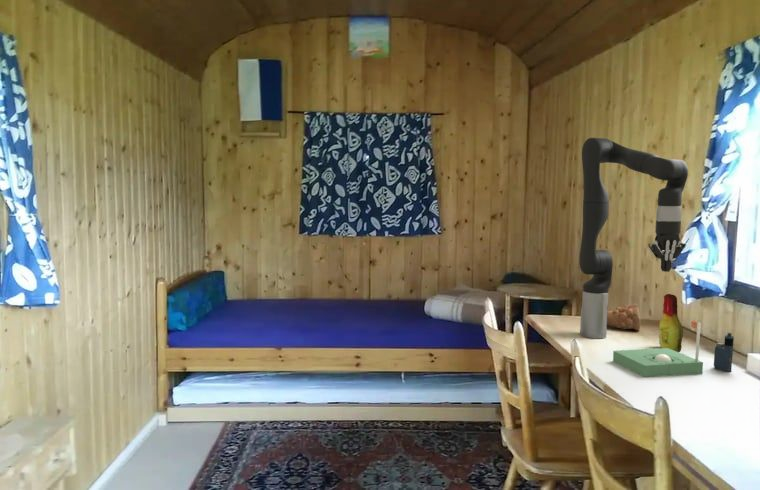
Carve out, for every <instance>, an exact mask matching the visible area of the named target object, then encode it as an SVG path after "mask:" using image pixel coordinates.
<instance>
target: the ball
mask: <svg viewBox="0 0 760 490" xmlns="http://www.w3.org/2000/svg"><path fill="white" fill-rule="evenodd" d="M654 360H656V361H661V362H672V361H671V359H670V357H669V356H667V355H665V354H659V355H657V356H656V357H655V359H654Z"/></svg>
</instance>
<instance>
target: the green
mask: <svg viewBox="0 0 760 490" xmlns="http://www.w3.org/2000/svg"><path fill="white" fill-rule="evenodd" d="M690 327H691V328H693V329H696V340H695V341H696V342H695V354H694V355H695V358H693V357H691V356H689V355H686V354H683V353H681V352H676V351H674V350H671V349H669V348H661V347H660V348H659V347H658V348H642V349H641V348H640V349H625V350H624V349H623V350H613V355H612V362H614V363H616V364H618V365H620V366H621V367H624V368H625V369H628V370H630V371H631V372H634V373H636V374H638V375H640V376H642V377H643V378H645V377H646V378H648V377H650V378H651V377H662V376H663V377H665V376H679V375H680V376H681V375H695V374H696V375H697V374H703V369H704V368H703V366H704V365H703V364H704V362H703V361H701V360H699V351H700V338H701V337H700V336H701V322H697V321H695V320H691V325H690ZM659 354H665V355H667V356H669V357H670V359H671V361H672V362H661V361H656V360H654V359H655V357H656V356H657V355H659Z"/></svg>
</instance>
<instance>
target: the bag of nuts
mask: <svg viewBox="0 0 760 490" xmlns="http://www.w3.org/2000/svg"><path fill="white" fill-rule="evenodd" d="M640 317H641V316H640V309H639V306H638V304H637V303H634V304H631V305H626V304H625V305H623V306H622V307H621V306H617V307H616V308H615V309H614V310H608V313H607V327H608V326H611V327H615V328H617V329H621V330H623V329H627V330H629V329H631V330H635V331H640V329H641V326H642V325H641V322H642V321H641V318H640Z"/></svg>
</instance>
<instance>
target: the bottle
mask: <svg viewBox="0 0 760 490" xmlns="http://www.w3.org/2000/svg"><path fill="white" fill-rule="evenodd" d="M662 307H663V309H662V318H661V319H660V320H659V325H658V326H659V330H658V331H659V333H658V334H659V335H658V338H659V339H658V340H659V341H658V342H659V343H658V344H659V347H660V348H669V349H671V350H674V351H676V352H679V353H681V350H682V342H683V335H684V329H683V326H682V323H681V321H680V319H679V316H678V298H677V296H676V294H672V293H667V294H665V295H663V305H662Z"/></svg>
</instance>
